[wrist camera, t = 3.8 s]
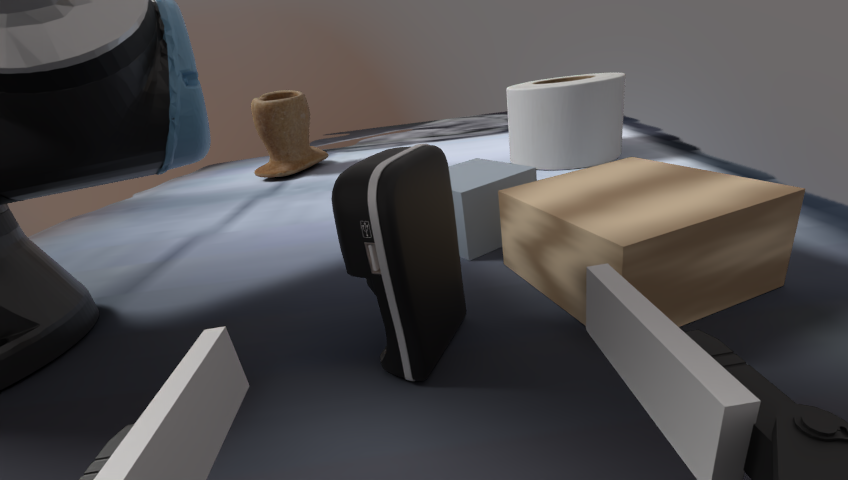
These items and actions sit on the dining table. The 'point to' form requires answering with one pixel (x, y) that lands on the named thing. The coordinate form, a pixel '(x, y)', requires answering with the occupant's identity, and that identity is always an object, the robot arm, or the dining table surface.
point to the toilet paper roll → (566, 121)
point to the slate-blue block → (482, 201)
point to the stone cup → (285, 133)
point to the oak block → (651, 234)
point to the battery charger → (404, 251)
